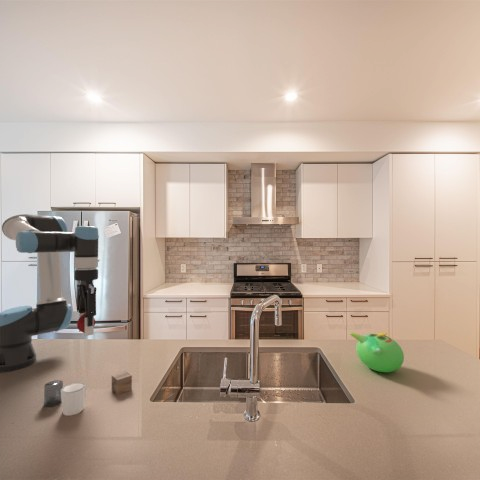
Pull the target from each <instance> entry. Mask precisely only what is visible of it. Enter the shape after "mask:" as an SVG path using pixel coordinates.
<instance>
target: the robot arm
mask: <svg viewBox="0 0 480 480" xmlns="http://www.w3.org/2000/svg"><path fill="white" fill-rule="evenodd" d="M1 231H2V234H3V235H4V236H5V237H6V238H7V239H10V240H13V241H15V248H16V251H17V252H18V253H21V254H22V253H23V254H34V253H35V254H37V255H38V259H37V260H38V278H39V279H38V280H39V283H38V284H39V301H38V302H36V304H35V305H36V307H35V308H33V307H32V306H31V305H22V306H15V307H12V308H9V309H5V310H3V311H1V312H0V373H3V372H4V373H6V372H12V371H16V370H21V369H24V368H27V367H30V366H31V365H32V364H34V363H36V362H37V353H36V349H35V347H34V346H33V343H32V342H33V341H32V337H34V336H40V335H45V334H47V333H48V334H49V333H53V332H59V331H62V330H65V329H66V330H67V328H68V327H69V326H70V323H71V321H72V317H73V310H72V304H70V303H68V302H67V299H65V298H64V297H63V286H62V285H63V284H62V282H63V281H62V270H61V269H62V268H61V267H62V266H61V265H62V264H61V253H72V252H73V253H74V263H73V264H74V268H75V270H74V280H75V281H78V282H79V283H78V284H77V285H76V287H77V296H76V297H77V299H76V300H77V302H76V303H77V304H76V305H77V306H76V307H77V308H76V310H77V311H78V319H79V318H80V317H81V316H82V315H83V314H84V313H85V312H86V316H84V318H85V333H84V337H88V336H91V335H92V336H93V335H94V333H95V332H94V328H95V326H94V319H95V316H97V287H96V286H95V285H94V280H98V279H99V269H98V267H99V262H100V259H99V238H100V235H99V228H98V227H97V226H89V225H77V226H76V227H75V228H74V231H68V227H67V223H66V221H65V220H64V218H62V217H61V216H54V215H43V214H42V215H40V214H39V215H38V214H17V215H13V216H10V217H9V218H6V220H4V221H3V223H2V225H1ZM78 332H80V333H82V332H81V331H80V330H79V329H78Z"/></svg>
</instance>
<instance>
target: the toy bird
mask: <svg viewBox="0 0 480 480" xmlns="http://www.w3.org/2000/svg"><path fill="white" fill-rule="evenodd" d="M387 334H388V333H387V332H381V333H380V332H378V333H368V334H365V335H363V334H362V335H361V334H359V333H355V332H350V333H349V335H350V336H351V337H353V338H354V339H355V340H357V343H356V346H355V347H356V348H355V349H356V353H357V356H358V358H359V360H360V362H362V363H363V364H364V365H365V366H366V367H367V368H369V369H371V370H373V371H376V372H379V373H391V372H392V373H393V372H395V371H398V369H400V368H401V366H402V365H403V363H404V361H405V354H404V351H403V349H402V347H401V346H400V344H399V343H398V342H397V341H396V340H394V339H393V338H391V337H390V336H387Z"/></svg>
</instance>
